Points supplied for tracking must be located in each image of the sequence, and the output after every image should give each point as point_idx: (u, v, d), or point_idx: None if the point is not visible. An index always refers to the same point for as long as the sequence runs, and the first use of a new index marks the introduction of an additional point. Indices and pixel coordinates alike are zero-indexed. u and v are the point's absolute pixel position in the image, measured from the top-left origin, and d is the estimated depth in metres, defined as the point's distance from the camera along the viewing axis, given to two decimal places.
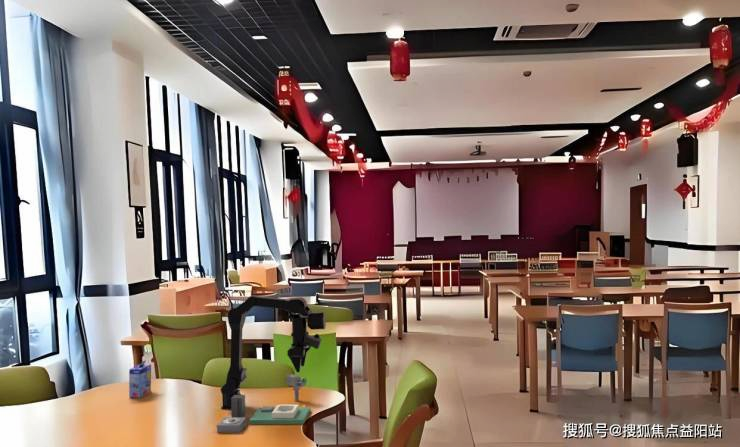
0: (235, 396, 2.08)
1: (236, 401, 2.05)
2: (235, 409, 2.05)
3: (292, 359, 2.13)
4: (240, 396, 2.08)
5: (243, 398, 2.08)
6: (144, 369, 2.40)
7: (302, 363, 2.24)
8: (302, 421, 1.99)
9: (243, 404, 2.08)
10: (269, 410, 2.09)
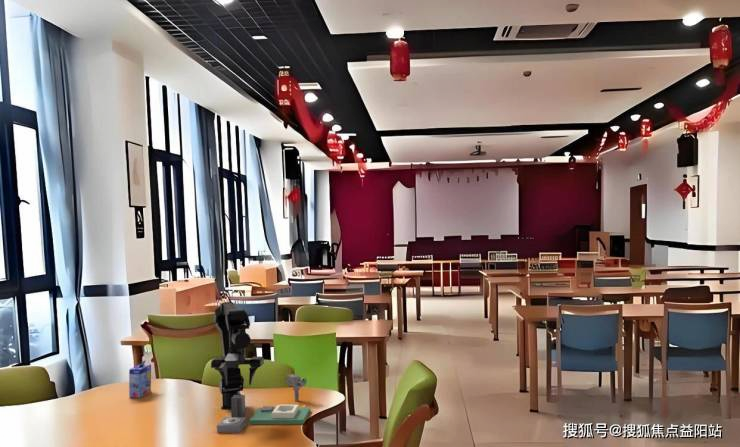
0: (235, 396, 2.08)
1: (236, 401, 2.05)
2: (235, 409, 2.05)
3: None
4: (240, 396, 2.08)
5: (243, 398, 2.08)
6: (144, 369, 2.40)
7: None
8: (302, 421, 1.99)
9: (243, 404, 2.08)
10: (269, 410, 2.09)
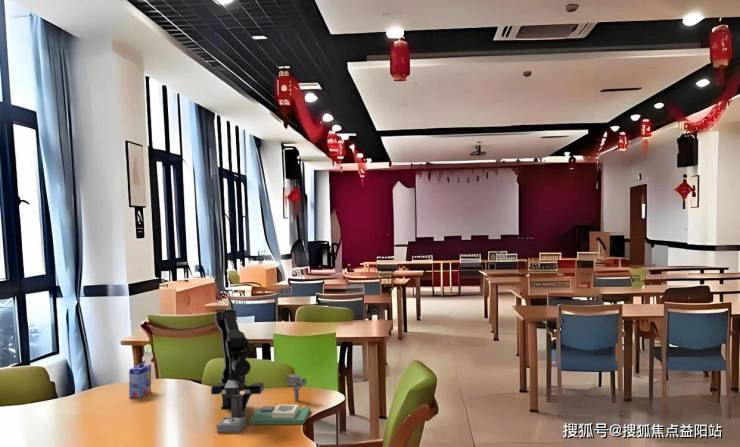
0: (235, 396, 2.08)
1: (236, 401, 2.05)
2: (235, 409, 2.05)
3: None
4: (240, 396, 2.08)
5: None
6: (144, 369, 2.40)
7: None
8: (302, 421, 1.99)
9: None
10: (269, 410, 2.09)
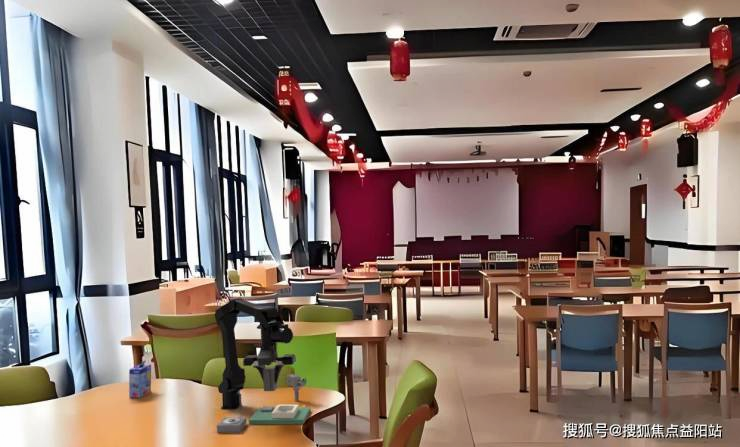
0: (267, 368, 2.07)
1: (268, 372, 2.04)
2: (267, 380, 2.04)
3: None
4: (271, 367, 2.07)
5: None
6: (144, 369, 2.40)
7: None
8: (302, 421, 1.99)
9: None
10: (269, 410, 2.09)
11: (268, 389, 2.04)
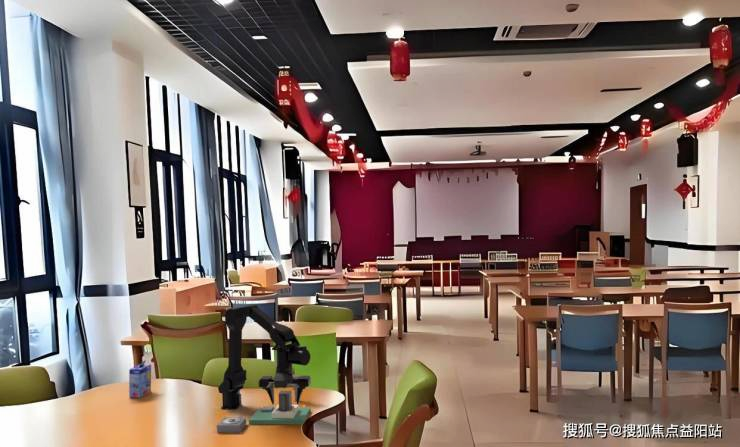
0: (282, 392, 2.07)
1: (284, 397, 2.04)
2: (283, 405, 2.04)
3: None
4: (287, 391, 2.07)
5: (290, 394, 2.07)
6: (144, 369, 2.40)
7: None
8: (302, 421, 1.99)
9: (290, 400, 2.06)
10: (269, 410, 2.09)
11: None
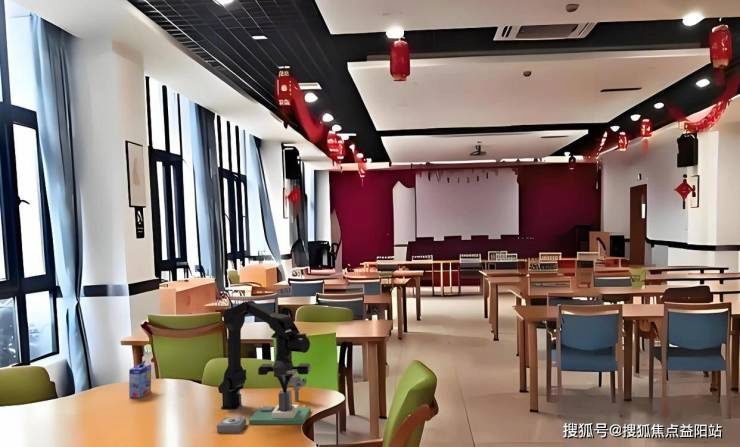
0: (282, 392, 2.07)
1: (284, 397, 2.04)
2: (283, 405, 2.04)
3: None
4: (287, 391, 2.07)
5: (290, 394, 2.07)
6: (144, 369, 2.40)
7: None
8: (302, 421, 1.99)
9: (290, 400, 2.06)
10: (269, 410, 2.09)
11: None
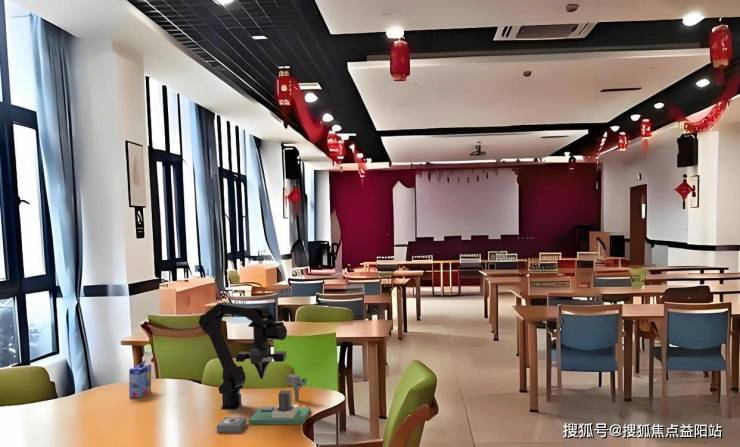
0: (282, 392, 2.07)
1: (284, 397, 2.04)
2: (283, 405, 2.04)
3: None
4: (287, 391, 2.07)
5: (290, 394, 2.07)
6: (144, 369, 2.40)
7: None
8: (302, 421, 1.99)
9: (290, 400, 2.06)
10: (269, 410, 2.09)
11: None
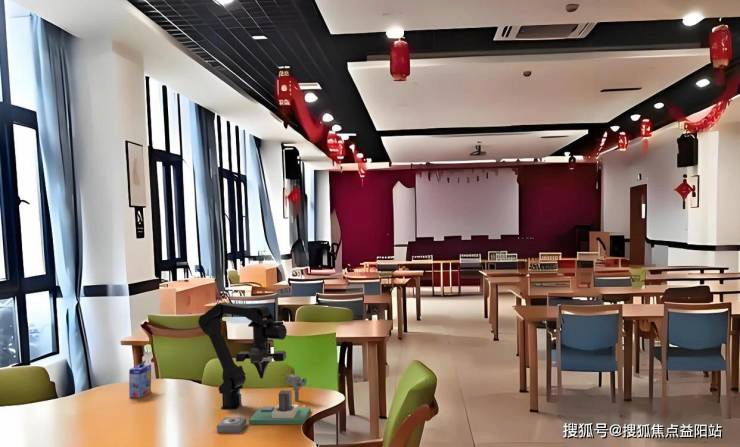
0: (282, 392, 2.07)
1: (284, 397, 2.04)
2: (283, 405, 2.04)
3: None
4: (287, 391, 2.07)
5: (290, 394, 2.07)
6: (144, 369, 2.40)
7: None
8: (302, 421, 1.99)
9: (290, 400, 2.06)
10: (269, 410, 2.09)
11: None
